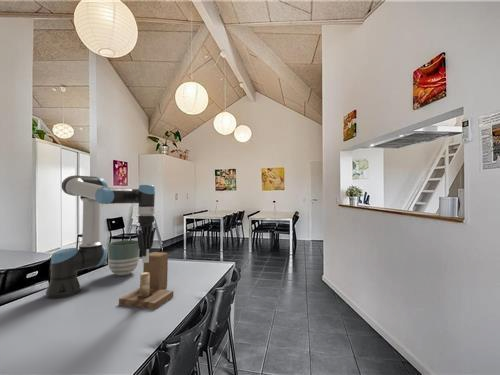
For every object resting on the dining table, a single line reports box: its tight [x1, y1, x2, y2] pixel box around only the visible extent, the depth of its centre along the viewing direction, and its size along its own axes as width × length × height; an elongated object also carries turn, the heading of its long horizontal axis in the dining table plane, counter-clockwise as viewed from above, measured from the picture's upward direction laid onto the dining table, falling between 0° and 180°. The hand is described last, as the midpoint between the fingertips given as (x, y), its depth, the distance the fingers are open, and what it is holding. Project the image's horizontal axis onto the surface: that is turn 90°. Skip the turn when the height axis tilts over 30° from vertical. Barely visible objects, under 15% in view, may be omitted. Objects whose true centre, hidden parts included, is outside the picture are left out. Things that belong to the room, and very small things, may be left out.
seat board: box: [118, 287, 174, 310], centre depth 128 cm, size 20×16×3 cm
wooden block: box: [142, 251, 169, 290], centre depth 144 cm, size 10×10×20 cm
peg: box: [139, 272, 150, 299], centre depth 126 cm, size 5×5×14 cm
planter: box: [107, 239, 140, 277], centre depth 172 cm, size 20×20×21 cm
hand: (145, 262), depth 127 cm, fingers closed
